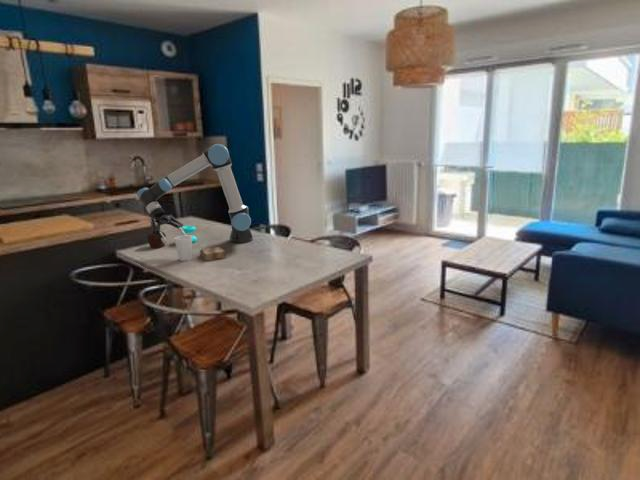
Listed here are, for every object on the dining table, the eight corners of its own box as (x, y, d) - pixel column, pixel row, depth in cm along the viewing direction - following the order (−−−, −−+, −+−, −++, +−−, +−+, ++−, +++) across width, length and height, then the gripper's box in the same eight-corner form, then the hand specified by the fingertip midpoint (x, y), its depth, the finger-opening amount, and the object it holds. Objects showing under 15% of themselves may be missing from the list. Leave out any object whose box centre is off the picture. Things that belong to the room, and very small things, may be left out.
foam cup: (188, 262, 230) (186, 239, 227) (173, 261, 232) (171, 239, 229) (196, 257, 239) (194, 235, 236) (182, 256, 241) (180, 234, 238)
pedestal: (220, 252, 247) (220, 246, 246) (226, 257, 237) (225, 251, 236) (200, 255, 242) (199, 249, 241) (205, 261, 231) (204, 254, 230)
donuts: (177, 226, 271) (192, 224, 277) (179, 241, 274) (194, 238, 279) (182, 229, 263) (197, 227, 269) (184, 244, 266) (199, 242, 271)
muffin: (154, 250, 255) (152, 234, 252) (144, 247, 261) (142, 232, 258) (170, 245, 264) (169, 230, 261) (161, 243, 270) (159, 228, 268)
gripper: (171, 211, 251) (190, 238, 247) (134, 219, 231) (154, 248, 227) (176, 203, 247) (195, 230, 243) (139, 210, 227) (159, 240, 223)
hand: (175, 239), depth 235 cm, fingers open, 13 cm apart
